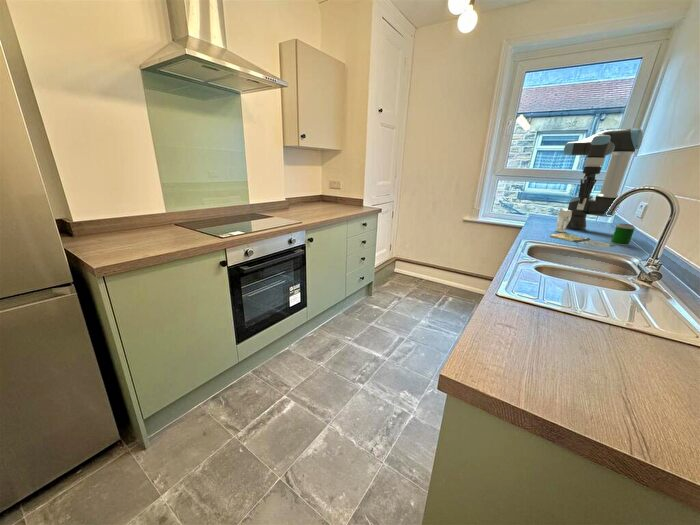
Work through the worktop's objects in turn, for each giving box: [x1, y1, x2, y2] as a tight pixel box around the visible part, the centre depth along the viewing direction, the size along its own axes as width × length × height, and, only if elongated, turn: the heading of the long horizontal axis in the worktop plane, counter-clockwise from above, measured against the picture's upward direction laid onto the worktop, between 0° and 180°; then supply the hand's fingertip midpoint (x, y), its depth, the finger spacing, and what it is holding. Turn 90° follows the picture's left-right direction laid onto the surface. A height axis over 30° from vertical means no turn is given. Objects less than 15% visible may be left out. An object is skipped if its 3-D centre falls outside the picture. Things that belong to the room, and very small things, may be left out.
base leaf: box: [578, 239, 618, 249], centre depth 157 cm, size 16×14×2 cm
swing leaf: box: [549, 232, 591, 244], centre depth 167 cm, size 16×14×2 cm
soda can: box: [610, 223, 635, 246], centre depth 158 cm, size 8×8×12 cm
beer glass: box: [554, 208, 572, 233], centre depth 185 cm, size 7×7×15 cm
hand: (579, 209), depth 162 cm, fingers closed
